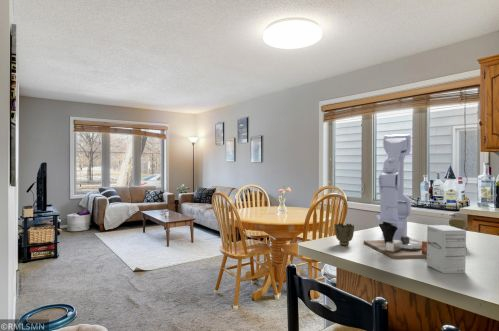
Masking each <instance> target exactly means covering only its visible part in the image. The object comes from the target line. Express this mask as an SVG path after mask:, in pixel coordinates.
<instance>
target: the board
mask: <svg viewBox="0 0 499 331" xmlns="http://www.w3.org/2000/svg"><path fill="white" fill-rule="evenodd" d="M409 237H410V236H408V235H407V236H401V241H402V243H409V240H410V241H415V242H418V243H420V244H422V249H420V250H404V249H400V250H397V251H395V252H392V251H388V250H386V244H385V241H384V239H378V240H377V239H375V240H374V239H373V240H370V239H369V240H363V244H364V245H366V246H368V247H370V248H372V249H374V250H376V251H378V252H380V253H382V254H383V255H385V256H388V258H391V259H393V260H395V259H397V260H398V259H399V260H400V259H422V258H423V259H424V258H426V259H427V240H422V241H421V240H418V239H415V238H412V239H409Z"/></svg>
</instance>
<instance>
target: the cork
mask: <svg viewBox="0 0 499 331" xmlns="http://www.w3.org/2000/svg"><path fill="white" fill-rule="evenodd" d="M448 226H452V227H455V228H459V229H462V230H465V226H466V221H465V219H463V218H460V217H451V218H449V220H448Z"/></svg>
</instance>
